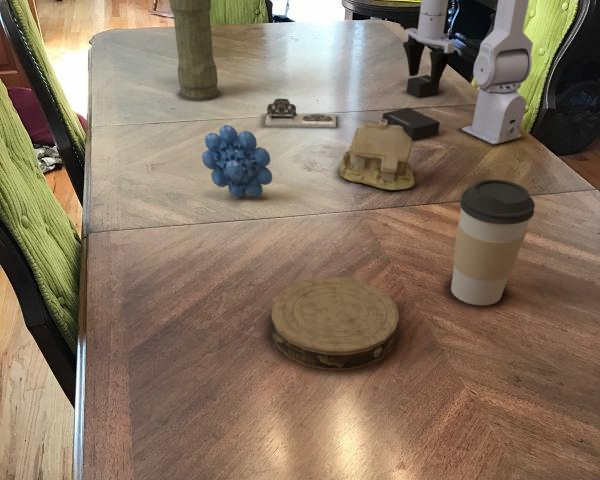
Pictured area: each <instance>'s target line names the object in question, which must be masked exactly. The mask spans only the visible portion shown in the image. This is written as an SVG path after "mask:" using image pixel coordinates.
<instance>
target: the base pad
mask: <svg viewBox="0 0 600 480" xmlns="http://www.w3.org/2000/svg"><path fill="white" fill-rule="evenodd" d="M381 119H386V120H387V124H388V125H399V126H402V128H403V130H404V132H405V133H406V134H407V135H408V136H409V137H410V138H411V139H412V141H413V142H414V141H418V140H421V139H424V138H425V139H426V138H429V137H433V136H436V135H439V129H440V124H441V122H440V121H439V120H436V119H434V118H432V117H430V116H428V115H425V114H423V113H421V112H419V111H417V110H415V109H413V108H411V107H406V108H405V107H404V108H401V109H397V110H392V111H387V112H383V113H382V118H381Z"/></svg>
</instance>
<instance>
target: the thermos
mask: <svg viewBox="0 0 600 480" xmlns="http://www.w3.org/2000/svg"><path fill="white" fill-rule="evenodd" d="M169 8H170V10H171V13H172V16H173V21H174V23H173V24H174V32H175V40H176V41H175V42H176V47H177V48H176V49H177V59H178V66H177V79H178V85H179V87H180V96H181V97H182V99H185V100H188V101H198V102H199V101H200V102H201V101H208V100H212V99H215V98H217V96H219V91H218V82H219V80H218V71H217V70H218V69H217V65H216V62H215V59H214V50H213V49H214V48H213V47H214V46H213V38H212V37H213V35H212V23H211V13H210V12H211V8H212V0H169Z"/></svg>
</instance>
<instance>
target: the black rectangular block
mask: <svg viewBox="0 0 600 480" xmlns="http://www.w3.org/2000/svg"><path fill="white" fill-rule="evenodd" d="M430 76H431V75H429V74H425V75H420V76H419V75H418V76H416V77H415V76H414V77H411V78H408V79H407V85H406V93H407V94H409V95H412V96H414V97H417V98H424V97H427V96H432V95H438V94H439V88H440V84H441V83H440V82H441V81H440V82H439V84H436V85H431V84H430Z"/></svg>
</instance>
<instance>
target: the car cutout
mask: <svg viewBox="0 0 600 480" xmlns="http://www.w3.org/2000/svg"><path fill="white" fill-rule="evenodd" d="M266 111H267V112H266V113H265V121H264V127H277V128H278V127H282V128H336V126H337V125H336V121H337V119H336V114H335V113H297V107H296V105H295V104H293V103H291V102H290V100H289V99H288V98H275V99H274V101H273V102H272V103H269V104H267V107H266Z"/></svg>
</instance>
